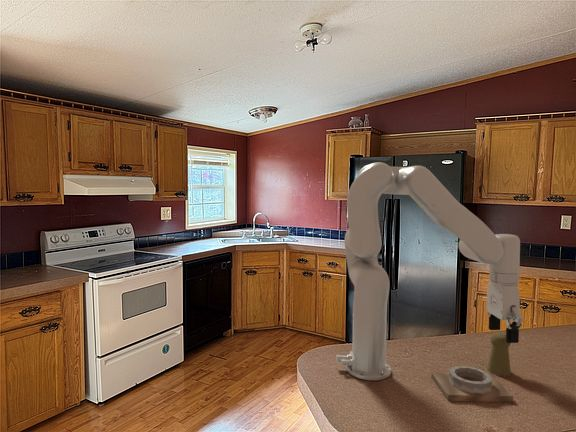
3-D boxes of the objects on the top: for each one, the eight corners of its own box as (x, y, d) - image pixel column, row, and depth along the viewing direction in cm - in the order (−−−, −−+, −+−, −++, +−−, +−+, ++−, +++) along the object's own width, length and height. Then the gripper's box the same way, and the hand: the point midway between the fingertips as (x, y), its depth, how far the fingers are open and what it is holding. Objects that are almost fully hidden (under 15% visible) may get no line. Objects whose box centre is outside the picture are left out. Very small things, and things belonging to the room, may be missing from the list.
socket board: (448, 400, 98) (448, 385, 97) (431, 377, 110) (432, 363, 109) (512, 402, 97) (513, 386, 97) (489, 378, 109) (489, 364, 109)
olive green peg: (514, 377, 110) (516, 339, 109) (490, 375, 111) (492, 337, 111) (506, 367, 116) (508, 331, 115) (484, 365, 117) (486, 330, 116)
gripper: (476, 271, 120) (476, 325, 122) (506, 285, 103) (505, 348, 104) (501, 270, 120) (500, 325, 121) (535, 284, 103) (534, 348, 104)
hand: (502, 335), depth 113 cm, fingers open, 9 cm apart
